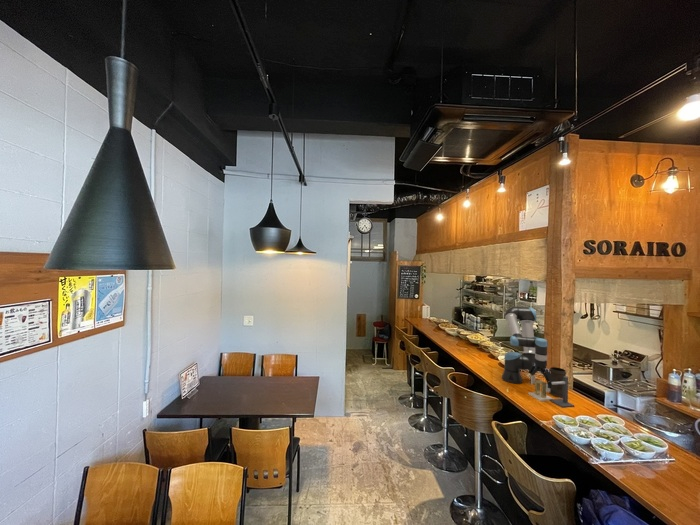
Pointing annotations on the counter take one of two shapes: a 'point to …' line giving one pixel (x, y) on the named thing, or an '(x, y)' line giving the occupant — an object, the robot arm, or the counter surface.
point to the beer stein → (557, 377)
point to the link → (543, 387)
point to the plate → (540, 397)
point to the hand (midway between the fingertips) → (540, 387)
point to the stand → (564, 401)
